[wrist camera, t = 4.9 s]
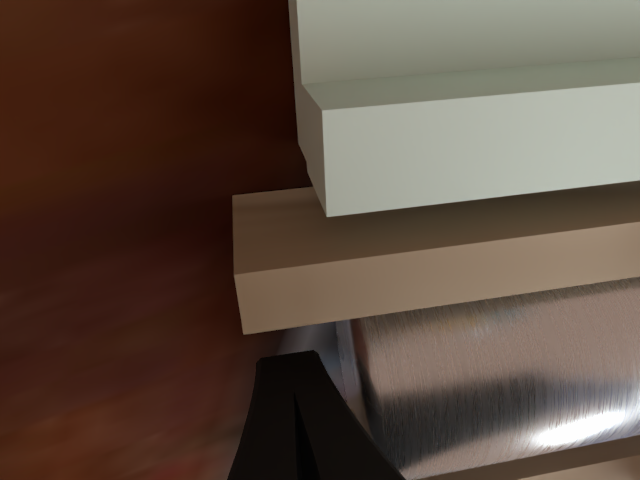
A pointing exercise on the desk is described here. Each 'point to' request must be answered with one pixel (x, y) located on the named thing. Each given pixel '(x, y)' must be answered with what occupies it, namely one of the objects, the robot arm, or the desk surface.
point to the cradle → (464, 98)
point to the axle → (496, 376)
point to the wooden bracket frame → (438, 274)
